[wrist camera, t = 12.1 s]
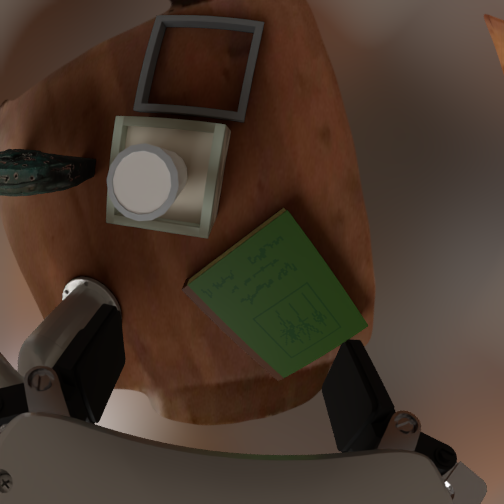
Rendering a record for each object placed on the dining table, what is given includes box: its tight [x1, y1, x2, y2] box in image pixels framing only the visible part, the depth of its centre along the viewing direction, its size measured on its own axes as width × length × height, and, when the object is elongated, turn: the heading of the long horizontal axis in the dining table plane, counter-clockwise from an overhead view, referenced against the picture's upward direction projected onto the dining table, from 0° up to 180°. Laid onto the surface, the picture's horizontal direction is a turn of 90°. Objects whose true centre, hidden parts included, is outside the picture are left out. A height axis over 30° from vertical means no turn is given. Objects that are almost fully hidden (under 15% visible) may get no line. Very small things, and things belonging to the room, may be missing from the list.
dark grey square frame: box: [133, 15, 264, 122], centre depth 31 cm, size 15×15×2 cm
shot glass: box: [107, 143, 188, 221], centre depth 25 cm, size 7×7×7 cm
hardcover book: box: [182, 208, 368, 381], centre depth 44 cm, size 25×19×4 cm
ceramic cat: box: [0, 149, 96, 196], centre depth 26 cm, size 20×6×20 cm, turn 80°
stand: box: [106, 116, 231, 238], centre depth 32 cm, size 12×12×10 cm
